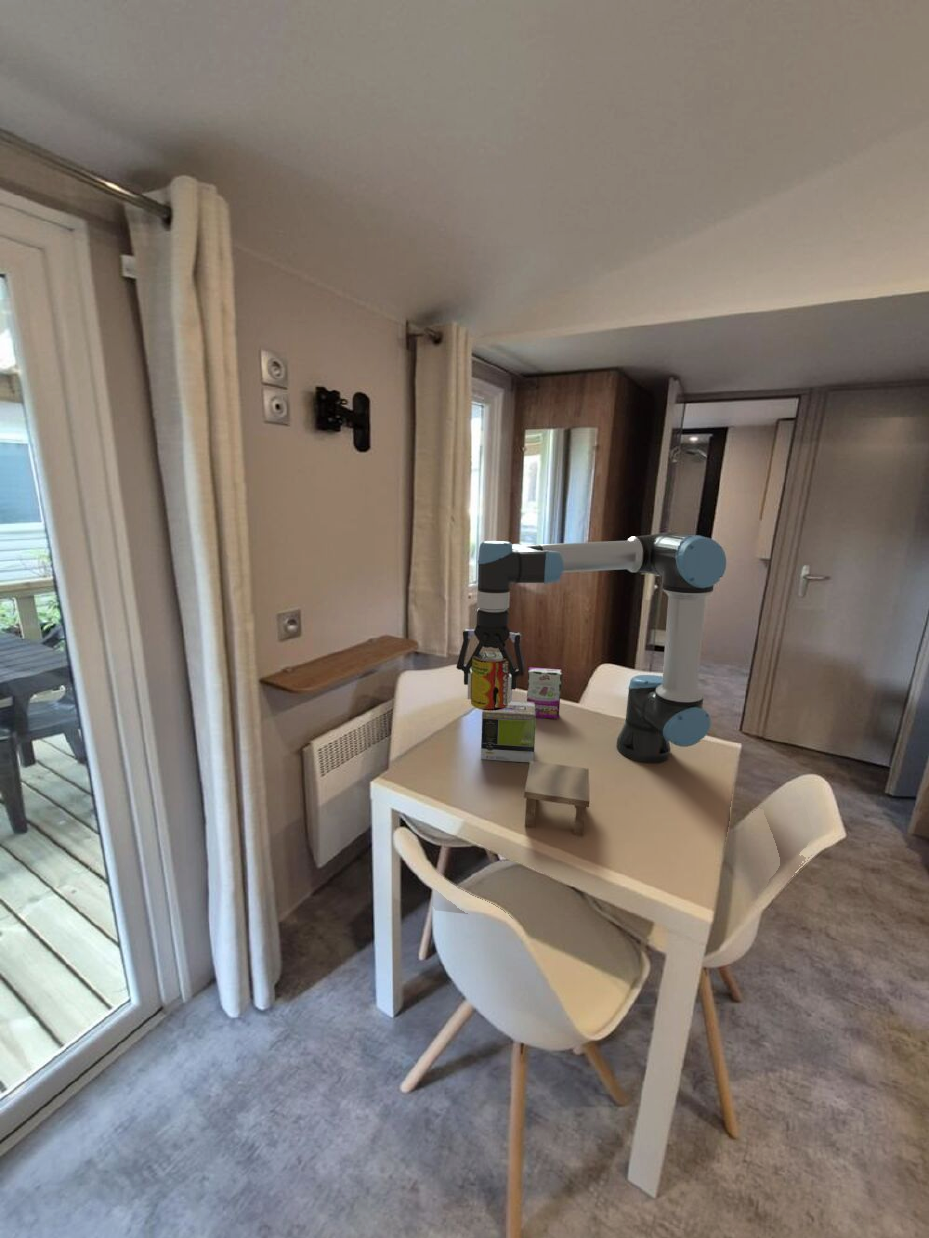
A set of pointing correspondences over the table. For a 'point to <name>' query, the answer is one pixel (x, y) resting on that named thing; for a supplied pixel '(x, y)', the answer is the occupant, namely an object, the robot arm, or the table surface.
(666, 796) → the table surface
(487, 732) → the tea box
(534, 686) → the candy bar box
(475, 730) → the table surface
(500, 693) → the beverage can
